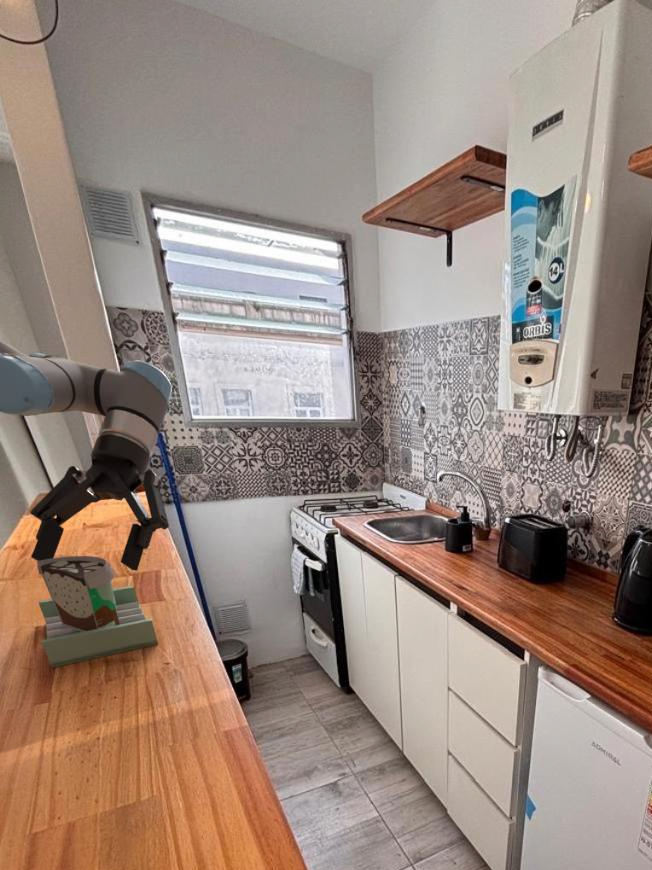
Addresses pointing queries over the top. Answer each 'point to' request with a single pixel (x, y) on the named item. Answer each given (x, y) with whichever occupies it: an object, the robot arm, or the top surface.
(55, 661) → the dish rack
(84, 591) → the food container
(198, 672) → the top surface
